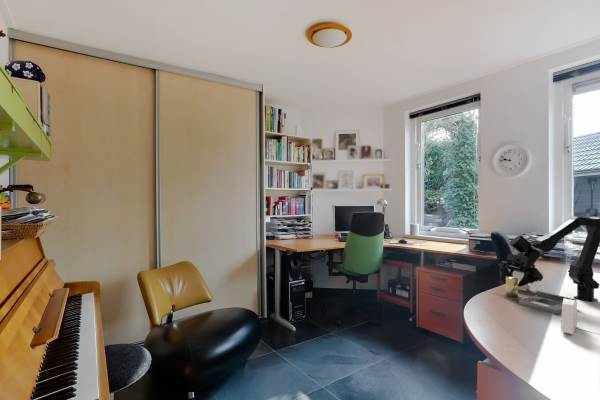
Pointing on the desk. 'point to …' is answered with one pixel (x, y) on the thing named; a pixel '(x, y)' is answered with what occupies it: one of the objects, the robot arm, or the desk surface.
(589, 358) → the desk surface
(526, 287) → the pneumatic valve
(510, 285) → the brass knob
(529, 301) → the plate
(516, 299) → the grey square plate
